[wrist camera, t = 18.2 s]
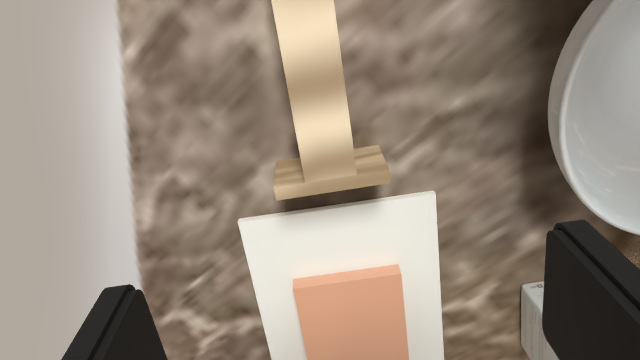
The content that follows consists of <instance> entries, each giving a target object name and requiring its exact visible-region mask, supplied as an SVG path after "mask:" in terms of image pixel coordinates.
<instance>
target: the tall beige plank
mask: <svg viewBox="0 0 640 360" xmlns="http://www.w3.org/2000/svg"><path fill="white" fill-rule="evenodd" d="M271 2H272V7H273V12H274V18H275V23H276V29H277V34H278V39H279V45H280V50H281V56H282V61H283V67H284V72H285V77H286V83H287V88H288V94H289V99H290V104H291V110H292V115H293V121H294V126H295V132H296V137H297V142H298V148H299V153H300V157H298V158H292V159H286V160H279V161H277V162H276V170H275V179H274V187H273V188H274V193H275V198H276V201H278V200H284V199H291V198H297V197H303V196H310V195H316V194H323V193H329V192H336V191H342V190H349V189H355V188H361V187H368V186H374V185H381V184H387V183H390V175H389V169H388V166H387V164H386V162H385V159H384V157H383V154H382V152H381V150H380V147H379V145H374V146H368V147H362V148H355V149H353V141H352V134H351V126H350V119H349V112H348V104H347V97H346V89H345V82H344V75H343V67H342V60H341V52H340V45H339V38H338V30H337V23H336V15H335V8H334V0H271Z"/></svg>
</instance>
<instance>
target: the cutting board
mask: <svg viewBox="0 0 640 360" xmlns="http://www.w3.org/2000/svg"><path fill="white" fill-rule="evenodd" d="M238 224H239V228H240V232H241V237H242V241H243V245H244V249H245V253H246V257H247V261H248V265H249V269H250V273H251V277H252V281H253V285H254V290H255V294H256V298H257V302H258V306H259V310H260V314H261V318H262V322H263V326H264V330H265V334H266V338H267V343H268V347H269V351H270V355H271V359H272V360H307V355H306V350H305V345H304V340H303V336H302V331H301V326H300V321H299V316H298V311H297V306H296V301H295V297H294V292H293V279H296V278H303V277H310V276H317V275H324V274H331V273H338V272H345V271H353V270H360V269H367V268H374V267H381V266H388V265H395V264H398V265H399V268H400V271H401V275H402V286H403V297H404V308H405V319H406V330H407V341H408V352H409V360H444V349H443V330H442V310H441V291H440V272H439V252H438V233H437V214H436V194H435V192H434V190H433V191H426V192H420V193H413V194H406V195H399V196H392V197H385V198H378V199H371V200H365V201H358V202H351V203H344V204H337V205H330V206H323V207H317V208H310V209H303V210H296V211H289V212H282V213H275V214H268V215H262V216H255V217H248V218H241V219H239V220H238Z"/></svg>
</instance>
